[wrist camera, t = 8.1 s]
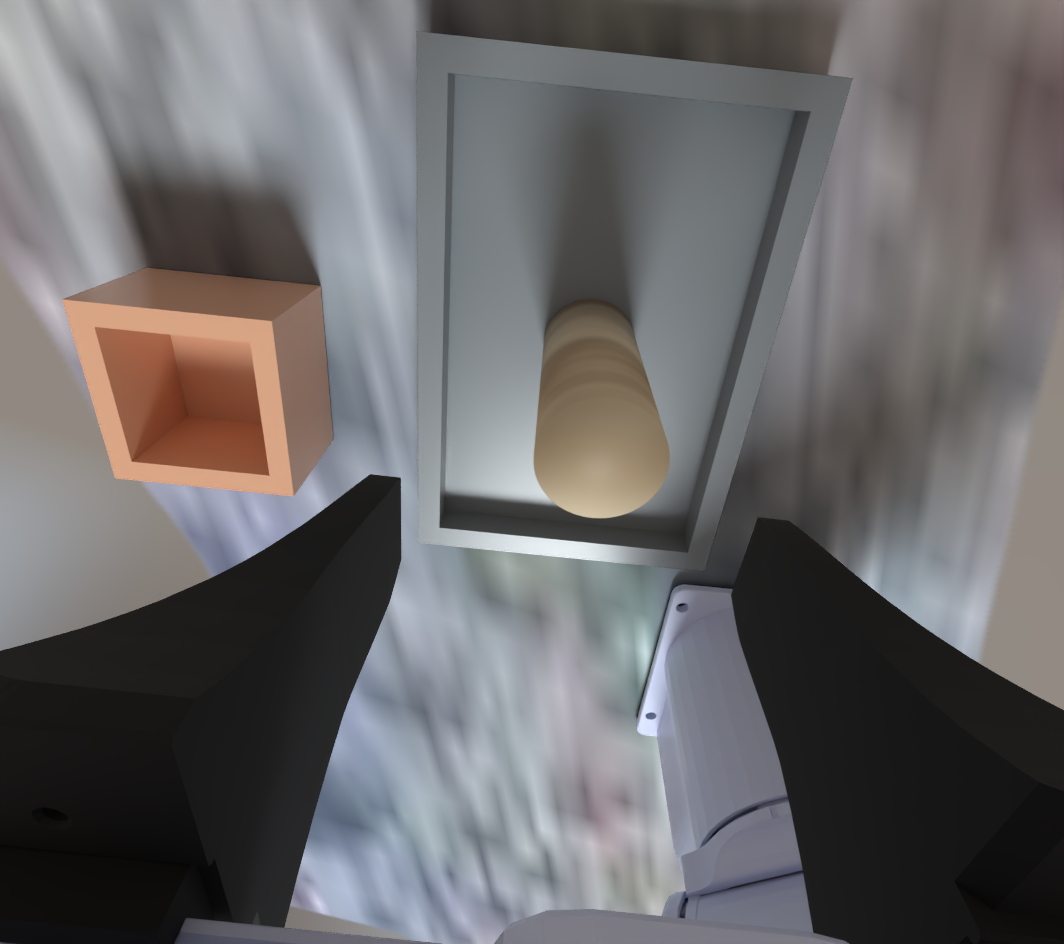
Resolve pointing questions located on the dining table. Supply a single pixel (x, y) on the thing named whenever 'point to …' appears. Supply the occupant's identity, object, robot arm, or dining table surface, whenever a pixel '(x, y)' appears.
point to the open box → (206, 378)
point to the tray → (600, 270)
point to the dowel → (597, 415)
